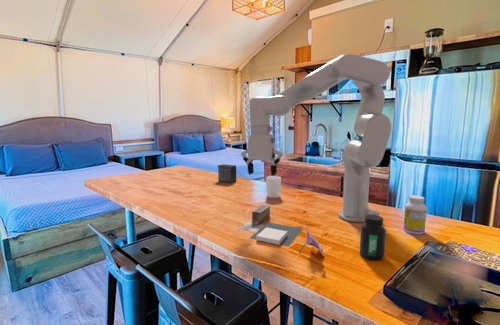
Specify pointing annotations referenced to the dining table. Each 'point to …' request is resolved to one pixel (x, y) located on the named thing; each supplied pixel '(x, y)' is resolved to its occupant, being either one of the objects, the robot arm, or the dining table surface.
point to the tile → (272, 236)
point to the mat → (291, 231)
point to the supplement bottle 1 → (373, 238)
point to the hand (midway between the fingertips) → (262, 174)
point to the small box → (227, 173)
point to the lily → (311, 241)
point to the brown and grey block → (257, 218)
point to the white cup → (273, 186)
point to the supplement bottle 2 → (415, 215)
